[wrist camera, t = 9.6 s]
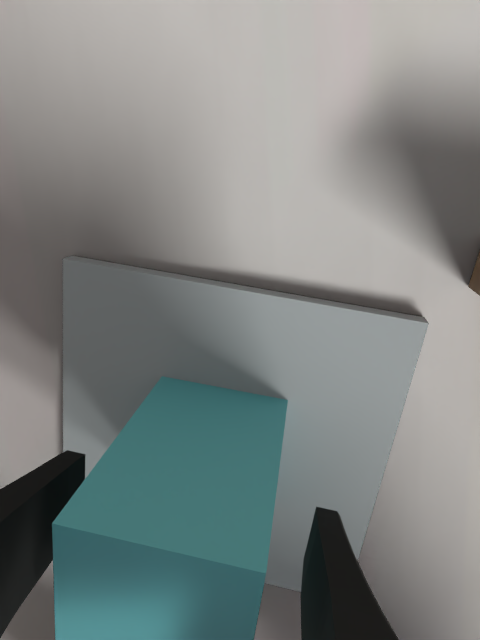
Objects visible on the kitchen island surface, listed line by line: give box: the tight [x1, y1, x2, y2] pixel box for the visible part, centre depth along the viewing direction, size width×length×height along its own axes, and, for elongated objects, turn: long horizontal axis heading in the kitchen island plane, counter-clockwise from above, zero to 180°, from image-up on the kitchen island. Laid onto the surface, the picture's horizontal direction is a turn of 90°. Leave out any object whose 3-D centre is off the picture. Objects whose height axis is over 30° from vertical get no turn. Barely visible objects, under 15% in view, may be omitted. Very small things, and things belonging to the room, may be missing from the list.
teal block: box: [52, 376, 288, 640], centre depth 13 cm, size 4×4×7 cm
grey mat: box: [63, 256, 429, 592], centre depth 17 cm, size 12×12×1 cm
